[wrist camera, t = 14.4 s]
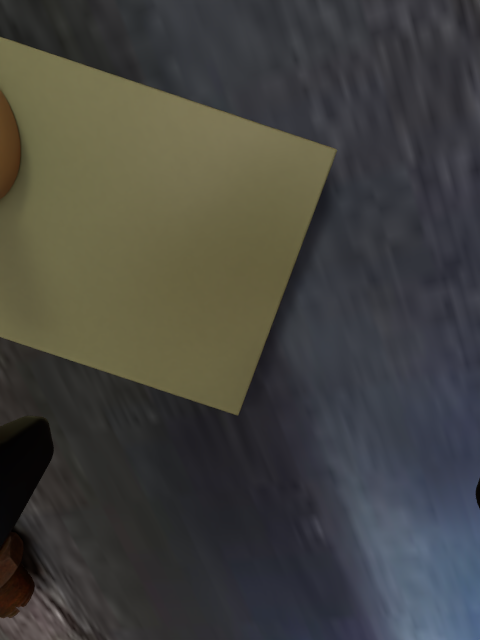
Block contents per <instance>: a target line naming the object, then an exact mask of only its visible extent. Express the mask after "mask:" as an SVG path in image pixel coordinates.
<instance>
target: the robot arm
mask: <svg viewBox="0 0 480 640" xmlns="http://www.w3.org/2000/svg"><path fill="white" fill-rule="evenodd" d="M53 451H54V447H53V442H52V437H51V432H50V427H49V423H48V421H47V419H46V418H44V417H37V416H25V417H22V418H19V419H17V420H15V421H12V422H10V423H8V424H5V425H3V426H0V547H1V546H2V544H3V543H4V541H5V540H6V538H7V537H8V535H9V534H10V532H11V531H12V529H13V527H14V525H15V524H16V522H17V520H18V519H19V517H20V515H21V513H22V512H23V510H24V508H25V506H26V504H27V503H28V501H29V499H30V497H31V495H32V494H33V492H34V490H35V488H36V486H37V485H38V483H39V481H40V479H41V477H42V476H43V474H44V472H45V470H46V468H47V466H48V465H49V463H50V461H51V459H52V456H53ZM476 499H477V503H478V506H479V508H480V479H479V482H478V485H477V488H476Z"/></svg>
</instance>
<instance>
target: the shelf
mask: <svg viewBox="0 0 480 640" xmlns="http://www.w3.org/2000/svg"><path fill="white" fill-rule="evenodd" d="M0 90H1V92H2V93H3V95H4V96H5V98H6V100H7V102H8V104H9V105H10V108H11V110H12V112H13V115H14V117H15V120H16V124H17V127H18V131H19V136H20V145H21V158H20V166H19V170H18V174H17V177H16V179H15V181H14V184H13V185H12V187H11V188H10V190H9V191H8V192H7V194H6V195H5V196H4V197H3V198H1V199H0V337H2V338H5V339H8V340H11V341H14V342H17V343H20V344H23V345H26V346H29V347H32V348H35V349H38V350H41V351H44V352H47V353H50V354H53V355H56V356H59V357H62V358H65V359H68V360H71V361H74V362H77V363H80V364H84V365H87V366H90V367H93V368H96V369H99V370H102V371H105V372H108V373H111V374H114V375H117V376H120V377H123V378H126V379H129V380H132V381H135V382H138V383H141V384H144V385H147V386H150V387H153V388H156V389H159V390H162V391H165V392H168V393H171V394H174V395H177V396H180V397H183V398H186V399H189V400H192V401H195V402H198V403H201V404H204V405H208V406H211V407H214V408H217V409H220V410H223V411H226V412H229V413H232V414H235V415H238V414H239V412H240V409H241V407H242V404H243V401H244V399H245V396H246V393H247V391H248V388H249V385H250V383H251V380H252V377H253V375H254V372H255V369H256V367H257V364H258V361H259V358H260V356H261V353H262V350H263V348H264V345H265V342H266V340H267V337H268V334H269V332H270V329H271V326H272V324H273V321H274V318H275V316H276V313H277V310H278V308H279V305H280V302H281V299H282V297H283V294H284V291H285V289H286V286H287V283H288V281H289V278H290V275H291V273H292V270H293V267H294V265H295V262H296V259H297V257H298V254H299V251H300V249H301V246H302V243H303V240H304V238H305V235H306V232H307V230H308V227H309V224H310V222H311V219H312V216H313V214H314V211H315V208H316V206H317V203H318V200H319V198H320V195H321V192H322V190H323V187H324V184H325V182H326V179H327V176H328V173H329V171H330V168H331V165H332V163H333V160H334V157H335V155H336V152H337V150H336V149H334V148H331V147H328V146H325V145H322V144H319V143H316V142H313V141H310V140H307V139H304V138H301V137H298V136H295V135H292V134H289V133H286V132H283V131H280V130H277V129H274V128H271V127H268V126H265V125H262V124H259V123H257V122H254V121H251V120H248V119H245V118H242V117H239V116H236V115H233V114H230V113H227V112H224V111H221V110H218V109H215V108H212V107H209V106H206V105H203V104H200V103H197V102H194V101H191V100H188V99H185V98H182V97H179V96H176V95H173V94H170V93H167V92H164V91H161V90H158V89H155V88H152V87H149V86H146V85H143V84H140V83H137V82H134V81H131V80H128V79H125V78H122V77H119V76H116V75H113V74H110V73H107V72H104V71H101V70H98V69H95V68H92V67H89V66H86V65H83V64H80V63H77V62H74V61H71V60H68V59H65V58H62V57H59V56H56V55H53V54H50V53H47V52H44V51H41V50H38V49H35V48H32V47H29V46H26V45H23V44H20V43H17V42H14V41H11V40H8V39H5V38H2V37H0Z"/></svg>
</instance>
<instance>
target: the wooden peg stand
mask: <svg viewBox="0 0 480 640" xmlns="http://www.w3.org/2000/svg"><path fill="white" fill-rule="evenodd" d="M20 158H21V145H20V136H19V131H18V127H17V124H16V120H15V117H14V115H13V112H12V110H11V108H10V105H9V104H8V102H7V100H6V98H5V96H4V95H3V93H2V92H1V90H0V199H1V198H3V197H4V196H5V195H6V194H7V192H8V191H9V190H10V188H11V187H12V185H13V184H14V181H15V179H16V177H17V174H18V170H19V166H20Z"/></svg>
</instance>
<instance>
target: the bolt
mask: <svg viewBox="0 0 480 640" xmlns="http://www.w3.org/2000/svg"><path fill="white" fill-rule="evenodd" d="M22 556H23V541H22V540H21V538H20V537H19V536H18V534H17V533H15V532H10V534H9V535H8V537H7V538H6V540H5V541H4V543H3V544H2V546H1V547H0V617H1V618H5V617H9V618H12V617H13V616H15V615H17V614H18V612H19V610H18V609H17V608H16V607H20V606H22V607H24V606H26V605H27V603H28V602H29V600H30V599H31V596H32V594H33V592H34V588H35V584H34V581H33V579H32V577H31V576H30V574H29V573H28V572H27V570H26V569H25V567H23V565H22V564H21V559H22Z"/></svg>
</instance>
